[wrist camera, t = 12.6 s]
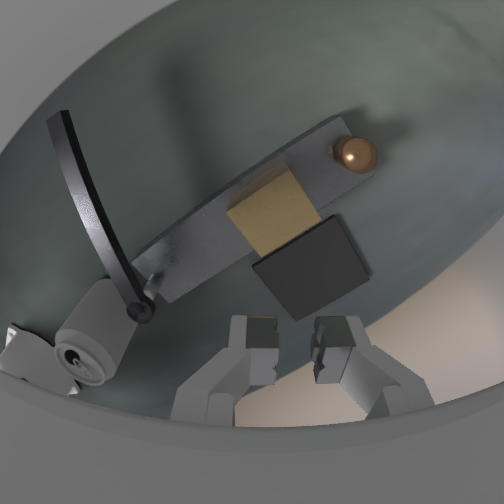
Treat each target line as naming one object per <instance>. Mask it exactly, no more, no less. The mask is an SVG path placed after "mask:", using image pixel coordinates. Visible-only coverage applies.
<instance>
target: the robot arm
mask: <svg viewBox="0 0 504 504" xmlns="http://www.w3.org/2000/svg"><path fill="white" fill-rule="evenodd" d="M314 329H315V333H313V334H312V337H311V345H310V352H311V360H312V361H313V362H314V363H315V365H314V369H313V371H314V376H315V381H316V384H325V383H339V384H340V385H341V386H342V387H343V389H345V391H346V392H347V393H348V394H349V395H350V396H351V397H352V398H353V399H354V400H355V401H356V402H357V403H358V404H359V406H360V407H361V408H362V409H363V410H364V411H365V412H366V413H367V414H368V415H367V417H366V419H365V420H363V421H355V422H348V423H339V424H329V425H318V426H301V427H235V412H234V406H235V405H236V404H237V402H238V401H239V400H240V399H241V397H242V396H243V395H244V393H245V392H246V391H247V389H248V388H249V387H250V385H275V379H276V364H277V363H278V355H279V337H278V333H277V317H276V316H252V315H248V316H247V315H232V317H231V325H230V334H229V343H228V348H223V349H222V350H220V351H219V352H218V353H217V354H216V355H215V356H214V357H213V358H212V359H210V360H209V361H208V362H207V363H206V364H205V365H204V366H202V367H201V368H200V369H199V370H198V371H197V372H196V373H194V374H193V375H192V376H191V377H190V378H189V379H188V380H186V381H185V382H184V383H183V384H182V385H181V386H179V387H178V389H177V393H176V397H175V401H174V405H173V409H172V413H171V417H170V420H165V419H159V418H153V417H147V416H142V415H137V414H132V413H127V412H123V411H118V410H114V409H110V408H106V407H102V406H98V405H94V404H91V403H87V402H84V401H81V400H77V399H74V398H71V397H68V395H69V394H77V393H78V392H79V390H80V388H79V387H78V385H77V383H76V382H75V380H74V378H73V377H71V376H70V375H69V374H67V373H66V372H65V371H64V370H63V369H62V368H61V366H60V365H59V364H58V362H57V360H56V359H55V356H54V348H53V347H52V346H51V345H50V344H48V343H47V342H46V341H44V340H43V339H42V338H40V337H38V336H37V335H35V334H33V333H30V332H27V331H23V330H21V329H19V328H17V327H16V326H14V325H12V324H11V325H10V326H9V328H8V332H7V339H6V346H5V347H4V350H3V352H2V353H1V354H0V504H504V381H503V382H501V383H499V384H496V385H494V386H491V387H489V388H486V389H483V390H481V391H478V392H475V393H473V394H470V395H467V396H464V397H461V398H458V399H455V400H451V401H448V402H445V403H442V404H438V405H435V403H434V401H433V399H432V397H431V394H430V392H429V390H428V388H427V386H426V383H425V381H424V379H423V378H421V377H420V376H418V375H417V374H415V373H414V372H413V371H411V370H410V369H408V368H407V367H405V366H404V365H403V364H401V363H400V362H398V361H397V360H395V359H394V358H393V357H391V356H390V355H388V354H387V353H385V352H384V351H383V350H381V349H380V348H378V347H377V346H375V345H373V346H372V345H371V344H370V341H369V338H368V336H367V334H366V332H365V329H364V327H363V325H362V322H361V320H360V318H359V316H358V315H346V316H325V317H316V319H315V322H314Z"/></svg>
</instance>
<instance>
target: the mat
mask: <svg viewBox="0 0 504 504" xmlns="http://www.w3.org/2000/svg"><path fill="white" fill-rule="evenodd" d="M252 268H253V270H254V271H255V272H256V273H257V274H258V276H259V277H260V278H261V279H262V281H263V282H264V283H265V284H266V286H267V287H268V288H269V289H270V290H271V292H272V293H273V294H274V295H275V297H276V298H277V299H278V300H279V301H280V303H281V304H282V305H283V306H284V308H285V309H286V310H287V311H288V312H289V314H290V315H291V316H292V317H293V319H294V320H295V321H298V320H300V319H302V318H304V317H306V316H307V315H309V314H311V313H313V312H315V311H317V310H318V309H320V308H322V307H324V306H326V305H327V304H329V303H331V302H333V301H334V300H336V299H338V298H340V297H341V296H343V295H345V294H346V293H348V292H350V291H352V290H353V289H355V288H357V287H358V286H360V285H362V284H363V283H365V282H367V281H368V280H370V279H369V277H368V275H367V273H366V271H365V269H364V267H363V266H362V264H361V262H360V260H359V258H358V256H357V255H356V253H355V251H354V249H353V247H352V245H351V244H350V242H349V240H348V238H347V237H346V235H345V233H344V231H343V230H342V228H341V226H340V224H339V223H338V221H337V219H336V218H335V216H334V215H332V216H331V217H329V218H327V219H326V220H324V221H323V222H321V223H319V224H318V225H316V226H315V227H313V228H311V229H310V230H308V231H307V232H305V233H303V234H302V235H300V236H299V237H297V238H295V239H294V240H292V241H291V242H289V243H287V244H286V245H284V246H283V247H281V248H279V249H278V250H276V251H274V252H273V253H271V254H270V255H268V256H266V257H265V258H263V259H262V260H260V261H258V262H257V263H255V264H253V265H252Z"/></svg>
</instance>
